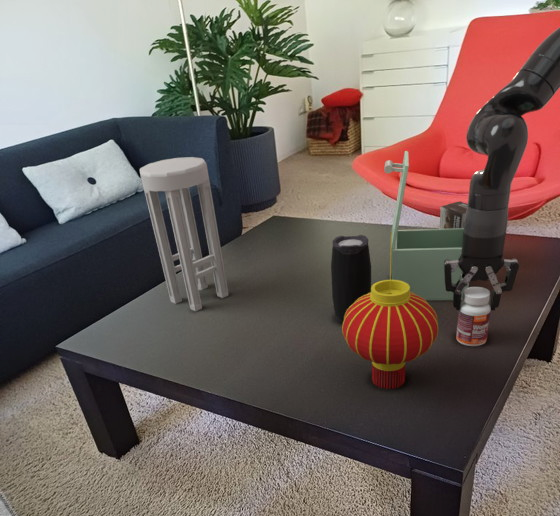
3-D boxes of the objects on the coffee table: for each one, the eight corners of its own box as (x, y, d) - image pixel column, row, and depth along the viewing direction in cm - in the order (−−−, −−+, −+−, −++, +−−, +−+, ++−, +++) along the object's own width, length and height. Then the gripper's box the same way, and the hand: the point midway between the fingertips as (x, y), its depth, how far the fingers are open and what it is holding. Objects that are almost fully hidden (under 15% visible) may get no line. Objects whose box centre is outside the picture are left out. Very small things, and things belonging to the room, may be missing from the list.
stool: (160, 302, 143) (126, 169, 123) (204, 282, 151) (179, 154, 132) (194, 318, 133) (163, 175, 114) (239, 295, 141) (218, 159, 122)
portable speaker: (358, 332, 119) (357, 250, 108) (325, 322, 125) (321, 243, 114) (378, 316, 124) (379, 236, 113) (346, 307, 130) (343, 230, 119)
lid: (408, 151, 122) (386, 149, 123) (408, 165, 111) (385, 163, 112) (395, 228, 133) (375, 226, 134) (394, 248, 122) (373, 246, 123)
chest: (461, 277, 137) (467, 227, 130) (467, 301, 126) (473, 248, 119) (392, 278, 141) (393, 230, 133) (391, 301, 130) (392, 250, 122)
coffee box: (476, 268, 141) (483, 208, 132) (456, 273, 139) (462, 213, 130) (455, 257, 148) (460, 200, 139) (435, 262, 147) (440, 205, 138)
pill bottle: (474, 351, 108) (480, 301, 102) (449, 340, 112) (454, 292, 106) (492, 340, 111) (499, 291, 105) (468, 330, 115) (473, 282, 109)
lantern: (394, 348, 112) (399, 208, 95) (453, 387, 99) (469, 232, 82) (327, 375, 106) (319, 231, 89) (380, 420, 93) (382, 261, 76)
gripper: (446, 237, 97) (439, 317, 106) (530, 234, 94) (515, 317, 103) (443, 223, 103) (437, 300, 112) (522, 221, 100) (509, 300, 109)
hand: (475, 308), depth 107 cm, fingers closed on pill bottle, 6 cm apart
